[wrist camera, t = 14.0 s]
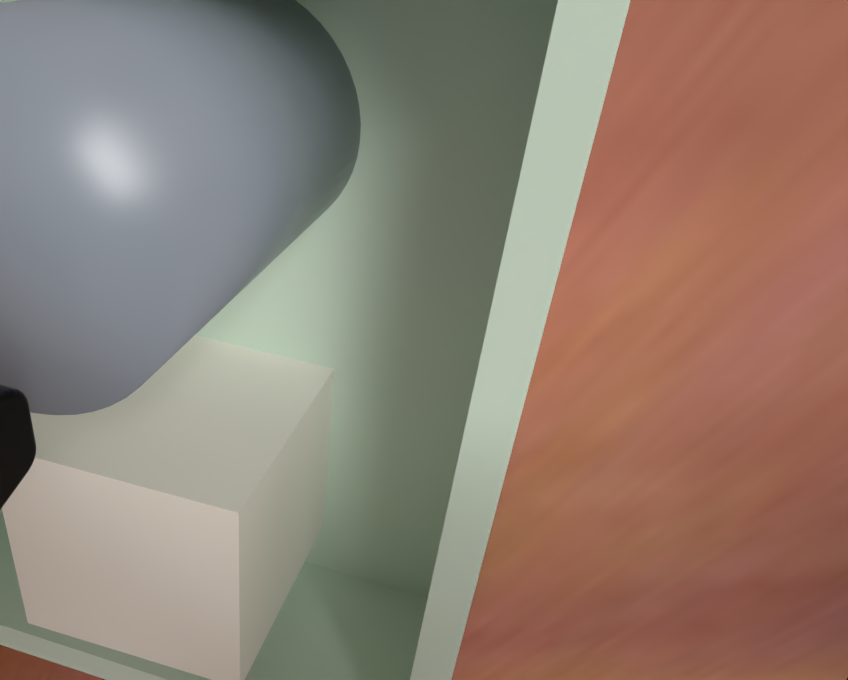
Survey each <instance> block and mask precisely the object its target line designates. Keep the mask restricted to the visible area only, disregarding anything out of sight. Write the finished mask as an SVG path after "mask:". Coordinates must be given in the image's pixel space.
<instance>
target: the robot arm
mask: <svg viewBox="0 0 848 680" xmlns="http://www.w3.org/2000/svg"><path fill="white" fill-rule="evenodd" d="M35 455H36V441H35V436H34V430H33V425H32V419H31V414H30V408H29V403H28V400H27V397H26V396H25V395H24V393H23V392H22V391H20V390H18V389H15V388H12V387H8V386H5V385H1V384H0V510H1V508H2V507H3V506H4V504H5V503H6V501H7V500H8V499H9V497H10V496H11V495H12V493H13V492H14V490H15V489H16V488H17V486H18V485H19V484H20V482H21V481H22V479H23V478H24V477H25V475H26V474H27V472H28V471H29V469H30V468H31V466H32V464H33V462H34V459H35ZM846 680H848V678H847V679H846Z"/></svg>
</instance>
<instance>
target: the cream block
mask: <svg viewBox="0 0 848 680" xmlns="http://www.w3.org/2000/svg"><path fill="white" fill-rule="evenodd" d="M333 378H334V369H333V368H329V367H325V366H321V365H316V364H312V363H308V362H304V361H300V360H295V359H291V358H287V357H283V356H279V355H274V354H270V353H266V352H262V351H258V350H253V349H249V348H245V347H241V346H237V345H232V344H228V343H224V342H220V341H216V340H211V339H207V338H203V337H199V336H195V335H194V336H193V337H192V338H191V339H190V340H189V341H188V342H187V343H186V344H185V345H184V346H183V347H182V348H181V349H180V350H179V351H178V352H177V353H175V354H174V355H173V356H172V357H171V358H170V359H169V360H168V361H167V362H166V363H165V364H164V365H163V366H162V367H161V368H160V369H159V370H158V371H157V372H155V373H154V374H153V375H152V376H151V377H150V378H149V379H148V380H147V381H146V382H145V383H144V384H143V385H142V386H141V387H139V388H138V389H137V390H136V391H134V392H133V393H132V394H131V395H129V396H128V397H127V398H125V399H123V400H121V401H119V402H117V403H116V404H114V405H112V406H109V407H106V408H103V409H100V410H97V411H94V412H89V413H83V414H77V415H48V414H39V413H32V412H30V414H31V419H32V425H33V430H34V436H35V441H36V455H35V459H34V462H33V464H32V466H31V468H30V469H29V471H28V472H27V474H26V475H25V477H24V478H23V479H22V481H21V482H20V484H19V485H18V486H17V488H16V489H15V490H14V492H13V493H12V495H11V496H10V497H9V499H8V500H7V501H6V503H5V504H4V506H3V507H2V511H3V516H4V520H5V525H6V529H7V533H8V538H9V542H10V547H11V551H12V555H13V560H14V564H15V569H16V573H17V577H18V582H19V586H20V591H21V595H22V599H23V604H24V608H25V613H26V617H27V621H28V623H29V624H33V625H36V626H39V627H42V628H46V629H49V630H52V631H55V632H59V633H62V634H65V635H68V636H72V637H75V638H78V639H81V640H85V641H88V642H91V643H94V644H98V645H101V646H104V647H107V648H111V649H114V650H117V651H120V652H124V653H127V654H130V655H133V656H137V657H140V658H143V659H146V660H149V661H153V662H156V663H159V664H162V665H166V666H169V667H172V668H175V669H179V670H182V671H185V672H188V673H192V674H195V675H198V676H201V677H205V678H208V679H211V680H245V678H246V676H247V674H248V672H249V670H250V668H251V666H252V664H253V662H254V660H255V658H256V656H257V654H258V652H259V650H260V649H261V647H262V645H263V643H264V641H265V639H266V637H267V635H268V633H269V631H270V629H271V627H272V625H273V623H274V621H275V619H276V617H277V615H278V613H279V611H280V609H281V607H282V605H283V603H284V601H285V599H286V597H287V595H288V593H289V591H290V590H291V588H292V586H293V584H294V582H295V580H296V578H297V576H298V574H299V572H300V570H301V568H302V566H303V564H304V562H305V560H306V558H307V556H308V554H309V552H310V550H311V548H312V546H313V544H314V542H315V540H316V538H317V536H318V534H319V532H320V531H321V529H322V527H323V521H324V507H325V493H326V478H327V464H328V450H329V435H330V421H331V406H332V392H333Z"/></svg>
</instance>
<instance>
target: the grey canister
mask: <svg viewBox="0 0 848 680" xmlns="http://www.w3.org/2000/svg"><path fill="white" fill-rule="evenodd" d="M360 133H361V119H360V107H359V102H358V97H357V92H356V88H355V85H354V82H353V79H352V76H351V73H350V70H349V68H348V66H347V64H346V61H345V59H344V57H343V55H342V53H341V51H340V50H339V48H338V47H337V45H336V43H335V42H334V40H333V38H332V37H331V36H330V34H329V33H328V32H327V31H326V29H325V28H324V27H323V25H322V24H321V23H320V22H319V21H318V20H317V19H316V18H315V17H314V16H313V15H312V14H311V13H310V12H309V11H308V10H307V9H306V8H305V7H303V6H302V5H301V4H300V3H298V2H297V1H296V0H19V1H11V2H3V3H0V384H1V385H5V386H8V387H12V388H15V389H18V390H20V391H22V392H23V393H24V395H25V396H26V397H27V400H28V403H29V408H30V412H32V413H39V414H48V415H77V414H83V413H89V412H94V411H97V410H100V409H103V408H106V407H109V406H112V405H114V404H116V403H117V402H119V401H121V400H123V399H125V398H127V397H128V396H129V395H131V394H132V393H133V392H134V391H136V390H137V389H138V388H139V387H141V386H142V385H143V384H144V383H145V382H146V381H147V380H148V379H149V378H150V377H151V376H152V375H153V374H154V373H155V372H157V371H158V370H159V369H160V368H161V367H162V366H163V365H164V364H165V363H166V362H167V361H168V360H169V359H170V358H171V357H172V356H173V355H174V354H175V353H177V352H178V351H179V350H180V349H181V348H182V347H183V346H184V345H185V344H186V343H187V342H188V341H189V340H190V339H191V338H192V337H193V336H194V335H195V334H197V333H198V332H199V331H200V330H201V329H202V328H203V327H204V326H205V325H206V324H207V323H208V322H209V321H210V320H211V319H212V318H213V317H214V316H215V315H217V314H218V313H219V312H220V311H221V310H222V309H223V308H224V307H225V306H226V305H227V304H228V303H229V302H230V301H231V300H232V299H233V298H234V297H235V296H237V295H238V294H239V293H240V292H241V291H242V290H243V289H244V288H245V287H246V286H247V285H248V284H249V283H250V282H251V281H252V280H253V279H254V278H255V277H257V276H258V275H259V274H260V273H261V272H262V271H263V270H264V269H265V268H266V267H267V266H268V265H269V264H270V263H271V262H272V261H273V260H274V259H275V258H277V257H278V256H279V255H280V254H281V253H282V252H283V251H284V250H285V249H286V248H287V247H288V246H289V245H290V244H291V243H292V242H293V241H294V240H295V239H297V238H298V237H299V236H300V235H301V234H302V233H303V232H304V231H305V230H306V229H307V228H308V227H309V226H310V225H311V224H312V223H313V222H314V221H315V220H317V219H318V218H319V217H320V216H321V215H322V214H323V213H324V212H325V211H326V210H327V209H328V208H329V207H330V206H331V205H332V204H333V203H334V202H335V200H336V199H337V198H338V197H339V196H340V194H341V193H342V191H343V189H344V188H345V186H346V185H347V183H348V181H349V179H350V176H351V174H352V172H353V169H354V166H355V163H356V160H357V156H358V151H359V145H360Z"/></svg>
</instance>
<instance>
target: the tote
mask: <svg viewBox="0 0 848 680" xmlns="http://www.w3.org/2000/svg"><path fill="white" fill-rule="evenodd" d="M11 1H19V0H0V3H3V2H11ZM296 1H297V2H298V3H300V4H301V5H302V6H303V7H305V8H306V9H307V10H308V11H309V12H310V13H311V14H312V15H313V16H314V17H315V18H316V19H317V20H318V21H319V22H320V23H321V24H322V25H323V27H324V28H325V29H326V31H327V32H328V33H329V34H330V36H331V37H332V38H333V40H334V42H335V43H336V45H337V47H338V48H339V50H340V51H341V53H342V55H343V57H344V59H345V61H346V64H347V66H348V68H349V70H350V73H351V76H352V79H353V82H354V85H355V88H356V92H357V97H358V102H359V107H360V119H361V133H360V145H359V151H358V156H357V160H356V163H355V166H354V169H353V172H352V174H351V176H350V179H349V181H348V183H347V185H346V186H345V188H344V189H343V191H342V193H341V194H340V196H339V197H338V198H337V199H336V200H335V202H334V203H333V204H332V205H331V206H330V207H329V208H328V209H327V210H326V211H325V212H324V213H323V214H322V215H321V216H320V217H319V218H318V219H317V220H315V221H314V222H313V223H312V224H311V225H310V226H309V227H308V228H307V229H306V230H305V231H304V232H303V233H302V234H301V235H300V236H299V237H298V238H297V239H295V240H294V241H293V242H292V243H291V244H290V245H289V246H288V247H287V248H286V249H285V250H284V251H283V252H282V253H281V254H280V255H279V256H278V257H277V258H275V259H274V260H273V261H272V262H271V263H270V264H269V265H268V266H267V267H266V268H265V269H264V270H263V271H262V272H261V273H260V274H259V275H258V276H257V277H255V278H254V279H253V280H252V281H251V282H250V283H249V284H248V285H247V286H246V287H245V288H244V289H243V290H242V291H241V292H240V293H239V294H238V295H237V296H235V297H234V298H233V299H232V300H231V301H230V302H229V303H228V304H227V305H226V306H225V307H224V308H223V309H222V310H221V311H220V312H219V313H218V314H217V315H215V316H214V317H213V318H212V319H211V320H210V321H209V322H208V323H207V324H206V325H205V326H204V327H203V328H202V329H201V330H200V331H199V332H198V333H197V334H195V336H199V337H203V338H207V339H211V340H216V341H220V342H224V343H228V344H232V345H237V346H241V347H245V348H249V349H253V350H258V351H262V352H266V353H270V354H274V355H279V356H283V357H287V358H291V359H295V360H300V361H304V362H308V363H312V364H316V365H321V366H325V367H329V368H333V369H334V378H333V392H332V406H331V421H330V435H329V450H328V464H327V478H326V493H325V507H324V521H323V527H322V529H321V531H320V532H319V534H318V536H317V538H316V540H315V542H314V544H313V546H312V548H311V550H310V552H309V554H308V556H307V558H306V560H305V562H304V564H303V566H302V568H301V570H300V572H299V574H298V576H297V578H296V580H295V582H294V584H293V586H292V588H291V590H290V591H289V593H288V595H287V597H286V599H285V601H284V603H283V605H282V607H281V609H280V611H279V613H278V615H277V617H276V619H275V621H274V623H273V625H272V627H271V629H270V631H269V633H268V635H267V637H266V639H265V641H264V643H263V645H262V647H261V649H260V650H259V652H258V654H257V656H256V658H255V660H254V662H253V664H252V666H251V668H250V670H249V672H248V674H247V676H246V678H245V680H451V679H452V675H453V671H454V667H455V664H456V660H457V656H458V652H459V649H460V645H461V641H462V637H463V633H464V630H465V626H466V622H467V618H468V614H469V611H470V607H471V603H472V599H473V595H474V592H475V588H476V584H477V580H478V577H479V573H480V569H481V565H482V561H483V558H484V554H485V550H486V546H487V542H488V539H489V535H490V531H491V527H492V523H493V520H494V516H495V512H496V508H497V504H498V501H499V497H500V493H501V489H502V486H503V482H504V478H505V474H506V470H507V467H508V463H509V459H510V455H511V451H512V448H513V444H514V440H515V436H516V432H517V429H518V425H519V421H520V417H521V413H522V410H523V406H524V402H525V398H526V395H527V391H528V387H529V383H530V379H531V376H532V372H533V368H534V364H535V360H536V357H537V353H538V349H539V345H540V341H541V338H542V334H543V330H544V326H545V323H546V319H547V315H548V311H549V307H550V304H551V300H552V296H553V292H554V288H555V285H556V281H557V277H558V273H559V269H560V266H561V262H562V258H563V254H564V250H565V247H566V243H567V239H568V235H569V232H570V228H571V224H572V220H573V216H574V213H575V209H576V205H577V201H578V197H579V194H580V190H581V186H582V182H583V178H584V175H585V171H586V167H587V163H588V159H589V156H590V152H591V148H592V144H593V141H594V137H595V133H596V129H597V125H598V122H599V118H600V114H601V110H602V106H603V103H604V99H605V95H606V91H607V87H608V84H609V80H610V76H611V72H612V69H613V65H614V61H615V57H616V53H617V50H618V46H619V42H620V38H621V34H622V31H623V27H624V23H625V19H626V15H627V12H628V8H629V4H630V0H296ZM0 645H3V646H6V647H9V648H12V649H15V650H18V651H21V652H24V653H27V654H30V655H33V656H36V657H39V658H42V659H45V660H48V661H51V662H54V663H57V664H60V665H63V666H66V667H69V668H72V669H75V670H78V671H81V672H84V673H87V674H90V675H93V676H96V677H99V678H102V679H105V680H211V679H208V678H205V677H201V676H198V675H195V674H192V673H188V672H185V671H182V670H179V669H175V668H172V667H169V666H166V665H162V664H159V663H156V662H153V661H149V660H146V659H143V658H140V657H137V656H133V655H130V654H127V653H124V652H120V651H117V650H114V649H111V648H107V647H104V646H101V645H98V644H94V643H91V642H88V641H85V640H81V639H78V638H75V637H72V636H68V635H65V634H62V633H59V632H55V631H52V630H49V629H46V628H42V627H39V626H36V625H33V624H29V623H28V621H27V617H26V613H25V608H24V604H23V599H22V595H21V591H20V586H19V582H18V577H17V573H16V569H15V564H14V560H13V555H12V551H11V547H10V542H9V538H8V533H7V529H6V525H5V520H4V516H3V511H2V508H1V510H0Z"/></svg>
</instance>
